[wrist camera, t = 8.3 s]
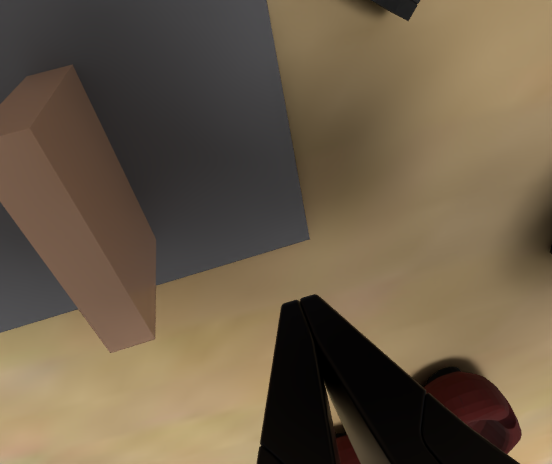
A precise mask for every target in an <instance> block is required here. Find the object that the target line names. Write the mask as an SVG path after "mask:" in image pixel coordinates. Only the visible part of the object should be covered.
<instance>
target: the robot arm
mask: <svg viewBox="0 0 552 464" xmlns="http://www.w3.org/2000/svg"><path fill="white" fill-rule="evenodd" d="M550 253H551V254H552V246H551V250H550ZM325 386H326V388H325ZM326 389H327V391H328V394H329V396H330V398H331V401H332V403H333V405H334V407H335V409H336V412H337V414H338V416H339V418H340V420H341V422H342V424H343V427H344V429H345V431H346V433H347V435H348V437H349V439H350V442H351V444H352V446H353V448H354V450H355V452H356V455H357V457H358V459H359V461H360V463H361V464H520V463H518V462H517V461H516V460H514V459H513V458H511V457H510V456H509V455H507V454H506V453H504V452H503V451H502V450H500V449H499V448H497V447H496V446H495V445H493V444H492V443H491V442H489V441H488V440H487V439H485V438H484V437H483V436H481V435H480V434H479V433H477V432H476V431H474V430H473V429H472V428H470V427H469V426H468V425H467V424H465V423H464V422H463V421H462V420H461V419H459V418H458V417H457V416H456V415H454V414H453V413H452V412H451V411H450V410H448V409H447V408H446V407H445V406H444V405H443V404H441V403H440V402H439V401H438V400H437V399H436V398H435V397H433V396H432V395H431V394H430V393H427V394H426V390H425V389H424V388H423V387H422V386H421V385H420V384H418V383H417V382H416V381H415V380H414V379H413V378H412V377H410V376H409V375H408V374H407V373H406V372H405V371H404V370H403V369H401V368H400V367H399V366H398V365H397V364H396V363H395V362H393V361H392V360H391V359H390V358H389V357H388V356H387V355H385V354H384V353H383V352H382V351H381V350H380V349H379V348H377V347H376V346H375V345H374V344H373V343H372V342H371V341H370V340H368V339H367V338H366V337H365V336H364V335H363V334H362V333H360V332H359V331H358V330H357V329H356V328H355V327H354V326H352V325H351V324H350V323H349V322H348V321H347V320H346V319H345V318H343V317H342V316H341V315H340V314H339V313H338V312H337V311H335V310H334V309H333V308H332V307H331V306H330V305H329V304H327V303H326V302H325V301H324V300H323V299H322V298H321V297H319V296H318V295H316V294H314V295H310V296H307V297H304V298H301V299H300V301H299V300H294V301H291V302H287V303H284V304H283V305H282V306H281V312H280V318H279V324H278V331H277V337H276V344H275V350H274V356H273V363H272V369H271V376H270V382H269V389H268V395H267V401H266V408H265V414H264V421H263V427H262V433H261V440H260V445H261V446H260V447H259V451H258V458H257V464H341V462H340V457H339V452H338V447H337V442H336V436H335V431H334V426H333V421H332V416H331V411H330V406H329V401H328V396H327V392H326Z"/></svg>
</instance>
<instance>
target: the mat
mask: <svg viewBox="0 0 552 464" xmlns="http://www.w3.org/2000/svg"><path fill="white" fill-rule="evenodd" d="M72 64H73V67H74V69H75V71H76V73H77V75H78V77H79V79H80V81H81V83H82V85H83V88H84V90H85V92H86V94H87V96H88V98H89V100H90V102H91V104H92V106H93V108H94V111H95V113H96V115H97V117H98V119H99V121H100V123H101V125H102V127H103V129H104V131H105V134H106V136H107V138H108V140H109V142H110V144H111V146H112V148H113V150H114V152H115V154H116V157H117V159H118V161H119V163H120V165H121V167H122V169H123V171H124V173H125V175H126V177H127V180H128V182H129V184H130V186H131V188H132V190H133V192H134V194H135V196H136V198H137V200H138V203H139V205H140V207H141V209H142V211H143V213H144V215H145V217H146V219H147V221H148V223H149V226H150V228H151V230H152V232H153V234H154V236H155V238H156V285H160V284H163V283H166V282H170V281H173V280H176V279H179V278H183V277H186V276H189V275H193V274H196V273H199V272H203V271H206V270H209V269H213V268H216V267H219V266H223V265H226V264H229V263H232V262H236V261H239V260H242V259H246V258H249V257H252V256H256V255H259V254H262V253H266V252H269V251H272V250H275V249H279V248H282V247H285V246H289V245H292V244H295V243H299V242H302V241H305V240H309V239H310V238H309V233H308V227H307V222H306V216H305V211H304V205H303V200H302V194H301V189H300V183H299V178H298V172H297V167H296V161H295V156H294V150H293V144H292V139H291V133H290V128H289V122H288V117H287V111H286V106H285V100H284V95H283V89H282V84H281V78H280V73H279V67H278V62H277V56H276V51H275V45H274V39H273V34H272V28H271V23H270V17H269V12H268V6H267V1H266V0H0V104H1V103H2V102H3V101H4V100H5V99H6V98H7V97H8V95H9V94H10V93H11V92H12V91H13V90H14V89H15V88H16V87H17V86H18V85H19V84H20V83H21V82H22V81H23V80H24V79H25V77H26V76H30V75H34V74H38V73H41V72H45V71H49V70H53V69H57V68H61V67H65V66H68V65H72ZM77 309H78V308H77V306H76V305H75V304H74V302H73V301H72V300H71V298H70V297H69V295H68V294H67V293H66V291H65V290H64V289H63V287H62V286H61V284H60V283H59V282H58V280H57V279H56V278H55V276H54V275H53V273H52V272H51V271H50V269H49V268H48V267H47V265H46V264H45V262H44V261H43V260H42V258H41V257H40V256H39V254H38V253H37V251H36V250H35V249H34V247H33V246H32V245H31V243H30V242H29V241H28V239H27V238H26V236H25V235H24V234H23V232H22V231H21V230H20V228H19V227H18V225H17V224H16V223H15V221H14V220H13V219H12V217H11V216H10V214H9V213H8V212H7V210H6V209H5V208H4V206H3V205H2V203H1V202H0V333H1V332H4V331H7V330H11V329H14V328H17V327H21V326H24V325H27V324H31V323H34V322H37V321H40V320H44V319H47V318H50V317H54V316H57V315H60V314H64V313H67V312H70V311H74V310H77Z"/></svg>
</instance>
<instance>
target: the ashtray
mask: <svg viewBox="0 0 552 464" xmlns="http://www.w3.org/2000/svg"><path fill="white" fill-rule="evenodd" d="M423 388H424V389H425V390H426V394H427V393H430V394H431V395H432V396H433V397H435V398H436V399H437V400H438V401H439V402H440V403H441V404H443V405H444V406H445V407H446V408H447V409H448V410H450V411H451V412H452V413H453V414H454V415H456V416H457V417H458V418H459V419H461V420H462V421H463V422H464V423H465V424H467V425H468V426H469V427H470V428H472V429H473V430H474V431H476V432H477V433H479V434H480V435H481V436H483V437H484V438H485V439H487V440H488V441H489V442H491V443H492V444H493V445H495V446H496V447H497V448H499V449H500V450H502V451H503V452H504V453H506V454H508V453H509V452H510V451H511V450H512V448H513V447H514V446H515V445H516V444H517V443H518V442H519V440H520V438H521V435H522V434H521V429H520V426H519V423H518V420H517V418H516V416H515V414H514V412H513V410H512V408H511V406H510V404H509V403H508V401H507V400H506V398H505V397H504V396H503V394H502V393H501V392H500V391H499V389H498V388H497V387H496V386H495V385H494V384H493V383H491V382H490V381H489V380H487V379H486V378H485V377H483V376H480V375H477V374H473V373H467V372H461V370H460V369H459V368H457V367H447V368H444V369H442V370H440V371H438V372H436V373H435V374H433V375H432V376H431V377H430V378H429V380H428V382H427V385H426V386H425V387H423ZM335 436H336V442H337V447H338V452H339V457H340V462H341V464H361V463H360V461H359V459H358V457H357V455H356V452H355V450H354V448H353V446H352V444H351V442H350V439H349V437H348V435H344V434H335Z"/></svg>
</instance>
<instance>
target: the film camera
mask: <svg viewBox="0 0 552 464" xmlns="http://www.w3.org/2000/svg"><path fill="white" fill-rule="evenodd" d="M371 1H373V2H375V3H376V4H378V5H380V6H381V7H383V8H385V9H386V10H388V11H390V12H392V13H394V14H396V15H398V16H399V17H401V18H403V19H405V20H407V21H409V19H410V17H411V16H412V14H413V12H414V10H415V9H416V7H417V4H418V3H419V2H420V0H371Z"/></svg>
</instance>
